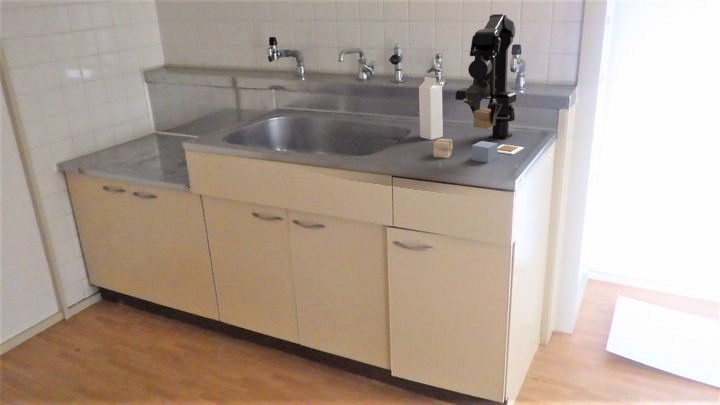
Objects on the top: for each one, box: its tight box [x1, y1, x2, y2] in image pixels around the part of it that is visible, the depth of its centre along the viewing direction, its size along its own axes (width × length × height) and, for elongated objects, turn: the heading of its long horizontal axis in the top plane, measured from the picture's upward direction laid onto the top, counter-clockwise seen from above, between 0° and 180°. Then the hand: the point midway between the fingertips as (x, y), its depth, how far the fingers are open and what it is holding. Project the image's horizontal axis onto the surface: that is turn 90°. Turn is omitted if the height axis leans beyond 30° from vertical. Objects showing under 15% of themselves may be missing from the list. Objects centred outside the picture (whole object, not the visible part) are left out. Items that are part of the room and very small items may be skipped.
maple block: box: [432, 138, 453, 159], centre depth 201 cm, size 5×5×5 cm
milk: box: [418, 76, 444, 141], centre depth 219 cm, size 6×6×22 cm
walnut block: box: [473, 107, 495, 129], centre depth 190 cm, size 5×5×5 cm
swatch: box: [498, 144, 525, 156], centre depth 202 cm, size 8×8×1 cm
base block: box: [471, 140, 499, 163], centre depth 194 cm, size 6×6×5 cm
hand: (484, 122), depth 191 cm, fingers closed on walnut block, 5 cm apart
